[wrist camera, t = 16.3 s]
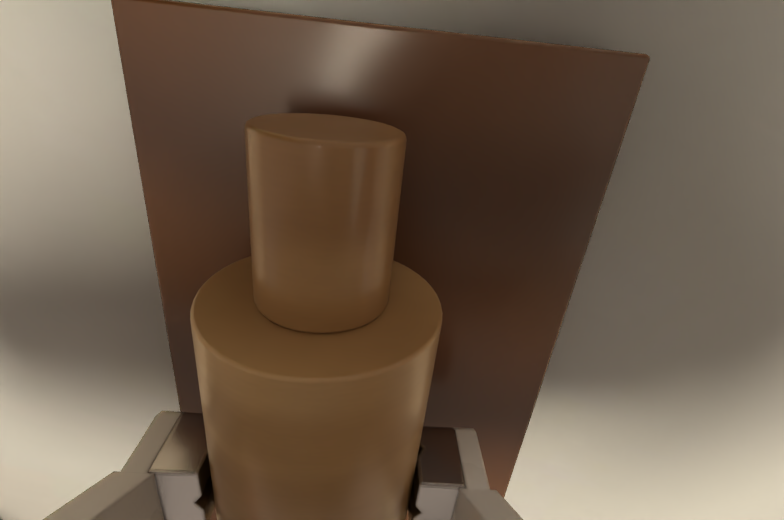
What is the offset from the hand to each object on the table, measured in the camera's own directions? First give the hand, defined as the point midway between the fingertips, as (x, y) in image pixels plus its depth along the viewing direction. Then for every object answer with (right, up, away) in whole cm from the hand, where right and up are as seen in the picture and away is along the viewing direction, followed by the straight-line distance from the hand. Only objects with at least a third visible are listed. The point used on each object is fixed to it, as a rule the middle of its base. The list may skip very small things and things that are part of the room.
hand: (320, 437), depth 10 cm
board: (+1, +1, +3) cm, 3 cm away
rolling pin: (0, +1, +1) cm, 2 cm away
